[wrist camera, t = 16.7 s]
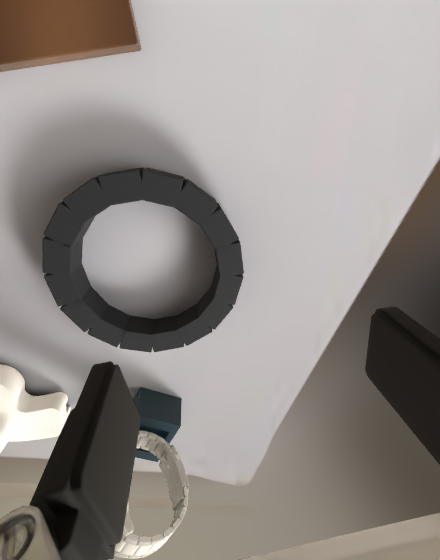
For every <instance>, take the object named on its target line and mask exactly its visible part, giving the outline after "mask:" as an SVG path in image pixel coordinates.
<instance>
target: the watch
mask: <svg viewBox="0 0 440 560" xmlns="http://www.w3.org/2000/svg"><path fill="white" fill-rule="evenodd" d="M134 404H135V406H136V409H137V411H138V414H139V417H140V428H139V434H138V441H137V447H136V453H135V457H137V458H142V459H146V460H151V461H156V462H158V460H160V461H161V462H160V464H159V466H160V468H161V470H162V472H163V474H164V476H165V479H166V482H167V485H168V489H169V493H170V498H171V500H172V502H173V510H174V511H175V512H174V520H173V521H172V524H171V526H170V528H169V529H167V530H166V531H164V533H163V534H158V535H155V536H153V537H152V538H151V537H144V536H141V537H140V538H139V537H138V536H137V535H133V534H131V533H132V532H133V531H134V528H133V524H132V522H131V519H130V517H129V515H128V510H129V504H128V505H127V511H126V517H125V524H124V530H123V536H122V539H121V542H120V543H118V544H116V546H115V552H114V555H115V556H118V557H121V558H128V559H137V558H142V557H145V556H148V555H150V554H151V553H152V552H155V551H156V550H158V549H159V548H160V547H161V546H162V545H163V544H164V543H165V542H166V541H167V540H168V538H169V537H170V536H171V535H172V533H173V532H174V531H175V529H176V528H177V527H178V526H179V524H180V523H181V521H182V519H183V517H184V515H185V512H186V509H187V508H186V507H187V505H188V490H189V483H188V479H187V475H186V472H185V469H184V466H183V464H182V461H181V459H180V457H179V455H178V453H177V451H176V449H175V448H174V446H173V445H172V446H170V444H169V443H170V442H171V440H172V439H173V437H174V436H175V434H176V432H177V431H178V429H179V428H180V426H181V398H177V397H174V396H170V395H167V394H163V393H160V392H156V391H152V390H149V389H145V388H142V387H141V388H140V390H139V392H138V394H137V396H136V398H135V400H134Z"/></svg>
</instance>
